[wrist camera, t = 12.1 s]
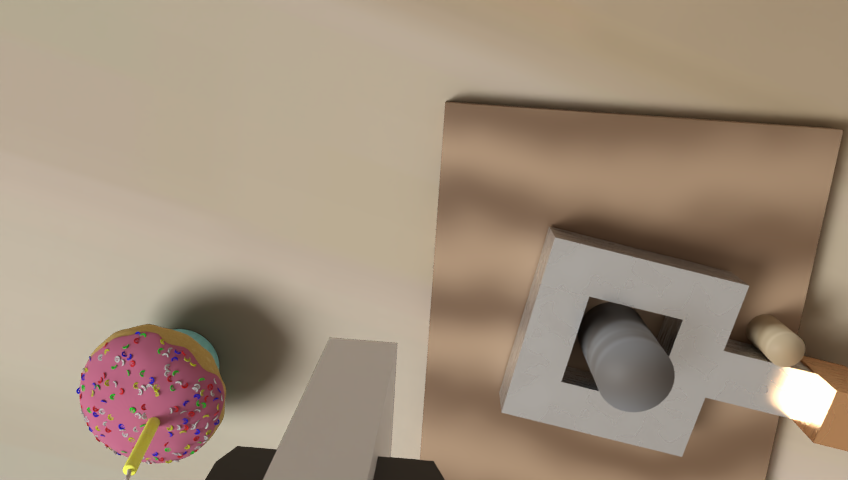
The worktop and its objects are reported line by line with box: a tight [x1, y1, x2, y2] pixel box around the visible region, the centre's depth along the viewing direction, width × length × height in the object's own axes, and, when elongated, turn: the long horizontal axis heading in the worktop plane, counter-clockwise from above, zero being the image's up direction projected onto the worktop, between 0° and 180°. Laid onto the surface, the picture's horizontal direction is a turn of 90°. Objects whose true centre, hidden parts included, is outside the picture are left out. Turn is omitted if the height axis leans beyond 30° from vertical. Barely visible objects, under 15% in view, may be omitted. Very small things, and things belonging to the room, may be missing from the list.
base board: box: [420, 102, 843, 480], centre depth 39 cm, size 26×22×7 cm
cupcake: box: [76, 324, 226, 480], centre depth 39 cm, size 9×8×12 cm
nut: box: [499, 227, 848, 457], centre depth 39 cm, size 20×11×5 cm, turn 76°
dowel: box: [746, 314, 805, 367], centre depth 39 cm, size 2×2×3 cm
